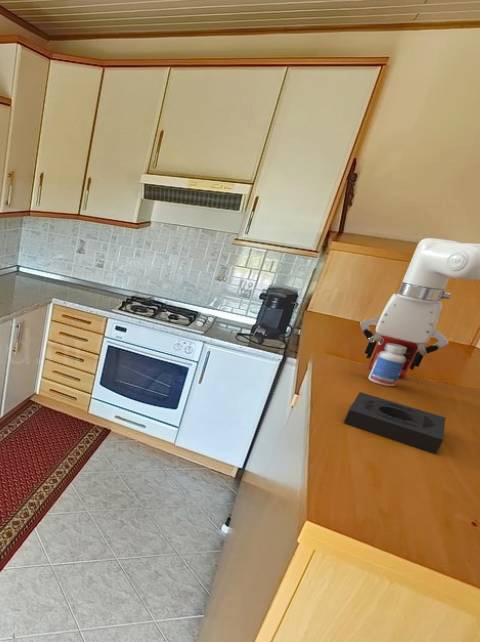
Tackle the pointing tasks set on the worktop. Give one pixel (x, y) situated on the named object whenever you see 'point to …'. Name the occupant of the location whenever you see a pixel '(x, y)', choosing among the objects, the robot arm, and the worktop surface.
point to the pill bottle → (388, 365)
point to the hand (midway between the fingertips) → (389, 362)
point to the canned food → (408, 355)
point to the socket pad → (397, 422)
